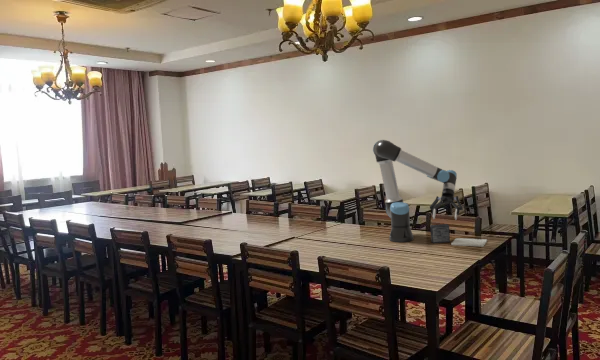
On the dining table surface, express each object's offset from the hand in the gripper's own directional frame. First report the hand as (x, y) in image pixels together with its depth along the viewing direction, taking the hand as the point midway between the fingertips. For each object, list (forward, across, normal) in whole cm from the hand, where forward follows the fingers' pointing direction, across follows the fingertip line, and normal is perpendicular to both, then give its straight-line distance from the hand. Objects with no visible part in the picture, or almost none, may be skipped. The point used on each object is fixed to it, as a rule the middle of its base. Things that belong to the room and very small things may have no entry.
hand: (444, 218), depth 298 cm
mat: (+16, -16, -2) cm, 22 cm away
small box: (+16, +1, -3) cm, 16 cm away
